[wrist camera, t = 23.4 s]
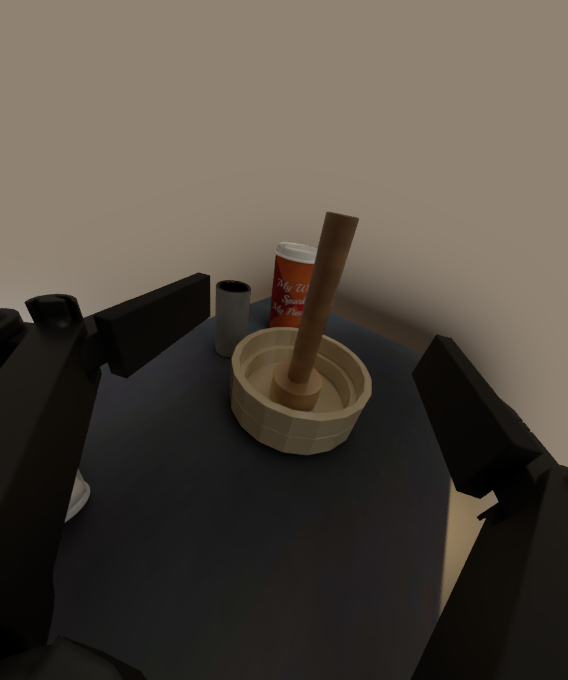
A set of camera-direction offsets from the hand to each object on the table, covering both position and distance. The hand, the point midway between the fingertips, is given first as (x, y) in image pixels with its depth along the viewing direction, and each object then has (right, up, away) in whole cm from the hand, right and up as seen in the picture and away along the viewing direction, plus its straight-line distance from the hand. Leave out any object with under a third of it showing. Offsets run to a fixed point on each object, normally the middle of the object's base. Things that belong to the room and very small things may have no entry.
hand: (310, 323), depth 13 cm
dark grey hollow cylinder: (-10, -2, +22) cm, 24 cm away
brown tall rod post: (0, -8, +15) cm, 17 cm away
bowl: (0, -8, +15) cm, 18 cm away
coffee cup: (-1, +1, +31) cm, 31 cm away
